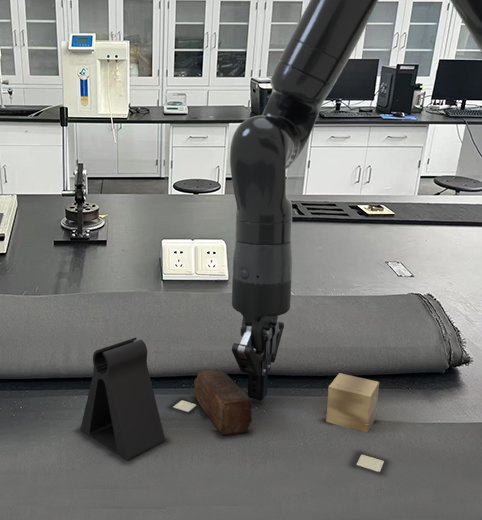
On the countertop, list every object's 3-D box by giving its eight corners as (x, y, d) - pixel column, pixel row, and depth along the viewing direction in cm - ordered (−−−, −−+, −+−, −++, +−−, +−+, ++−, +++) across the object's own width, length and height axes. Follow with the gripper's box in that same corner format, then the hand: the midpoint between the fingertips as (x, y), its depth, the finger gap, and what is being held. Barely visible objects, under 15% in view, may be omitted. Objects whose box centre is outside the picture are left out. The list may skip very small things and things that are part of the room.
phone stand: (80, 431, 66) (77, 340, 64) (117, 415, 70) (115, 329, 68) (127, 462, 60) (125, 362, 57) (165, 442, 64) (165, 348, 61)
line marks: (384, 462, 59) (384, 461, 59) (379, 473, 57) (379, 471, 57) (181, 401, 74) (181, 400, 74) (172, 408, 72) (172, 406, 72)
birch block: (376, 417, 69) (379, 381, 68) (367, 434, 65) (370, 396, 64) (336, 407, 72) (339, 372, 71) (325, 422, 68) (328, 386, 67)
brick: (252, 433, 65) (253, 398, 64) (221, 437, 65) (222, 402, 64) (219, 395, 76) (220, 365, 75) (193, 399, 75) (193, 367, 74)
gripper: (271, 289, 62) (265, 425, 65) (306, 268, 73) (299, 386, 76) (213, 281, 66) (210, 409, 70) (254, 262, 77) (250, 374, 80)
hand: (257, 397), depth 73 cm, fingers closed
